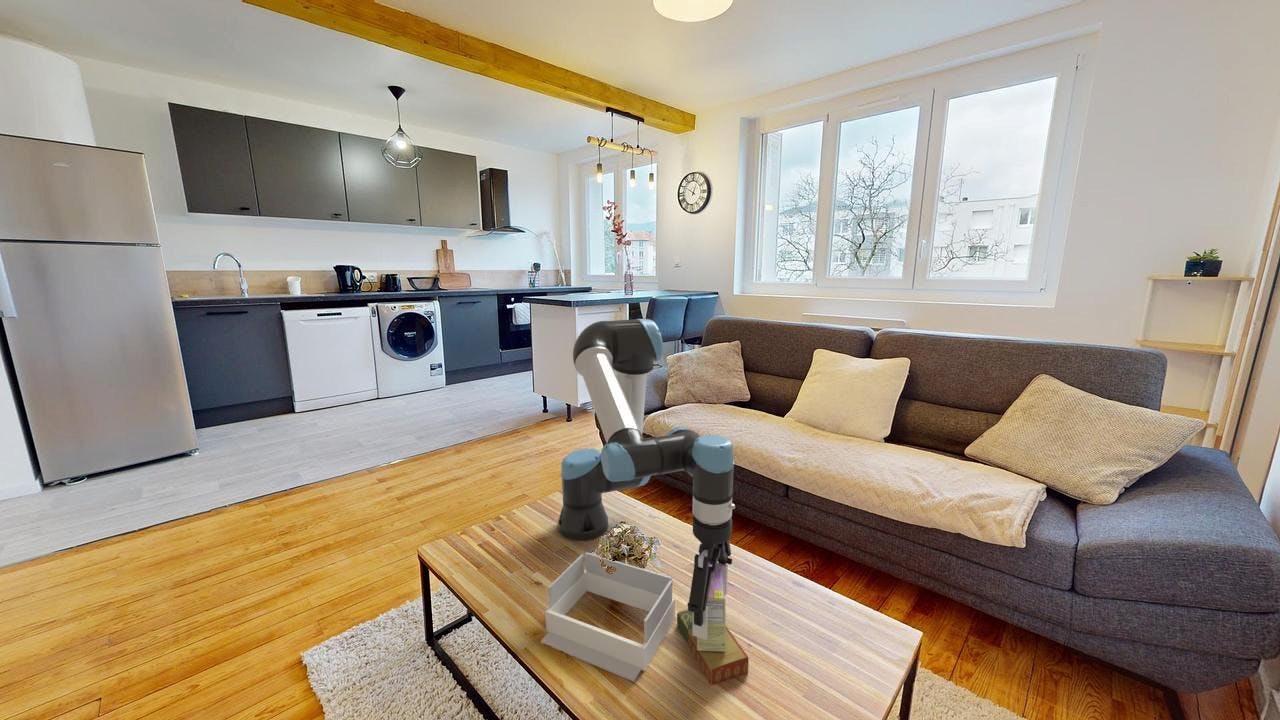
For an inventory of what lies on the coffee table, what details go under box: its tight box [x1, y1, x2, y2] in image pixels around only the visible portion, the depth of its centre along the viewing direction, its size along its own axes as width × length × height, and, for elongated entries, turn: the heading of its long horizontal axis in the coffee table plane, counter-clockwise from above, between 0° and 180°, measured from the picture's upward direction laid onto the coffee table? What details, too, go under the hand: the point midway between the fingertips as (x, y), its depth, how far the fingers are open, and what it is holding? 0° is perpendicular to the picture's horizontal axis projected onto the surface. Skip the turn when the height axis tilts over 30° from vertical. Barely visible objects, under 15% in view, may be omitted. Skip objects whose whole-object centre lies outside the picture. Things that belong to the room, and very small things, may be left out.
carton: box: [676, 609, 750, 686], centre depth 95 cm, size 8×16×4 cm, turn 19°
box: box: [697, 564, 727, 652], centre depth 93 cm, size 10×6×12 cm, turn 173°
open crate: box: [541, 551, 676, 683], centre depth 99 cm, size 24×19×10 cm
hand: (710, 612), depth 93 cm, fingers open, 13 cm apart
